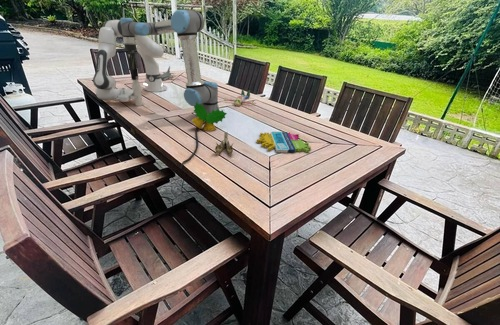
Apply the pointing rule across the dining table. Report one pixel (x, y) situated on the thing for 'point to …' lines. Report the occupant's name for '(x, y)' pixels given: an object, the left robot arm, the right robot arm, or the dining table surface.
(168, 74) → the airplane
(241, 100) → the toy
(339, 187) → the dining table surface
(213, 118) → the ornament
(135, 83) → the bottle
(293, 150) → the packaged gardening gloves
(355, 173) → the dining table surface
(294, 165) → the dining table surface
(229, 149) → the jawbone
